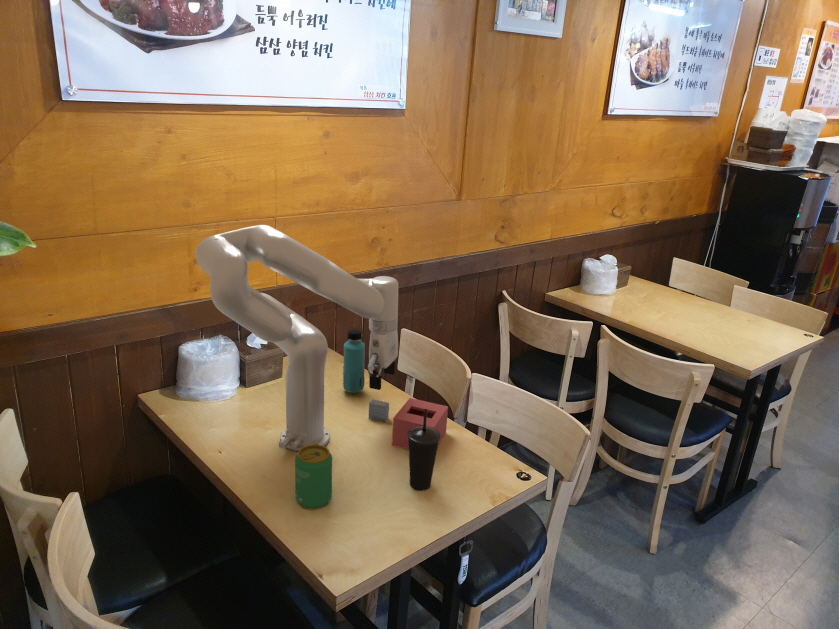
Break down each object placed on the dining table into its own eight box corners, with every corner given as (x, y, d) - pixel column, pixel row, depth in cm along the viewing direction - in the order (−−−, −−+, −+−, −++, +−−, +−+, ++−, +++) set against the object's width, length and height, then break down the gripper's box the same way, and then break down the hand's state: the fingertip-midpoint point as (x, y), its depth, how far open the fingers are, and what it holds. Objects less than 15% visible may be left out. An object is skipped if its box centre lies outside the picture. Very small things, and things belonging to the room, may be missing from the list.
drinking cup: (413, 497, 142) (418, 421, 135) (398, 479, 148) (403, 404, 141) (442, 489, 145) (449, 414, 138) (426, 472, 151) (432, 399, 144)
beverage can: (337, 503, 138) (338, 457, 134) (304, 515, 134) (303, 467, 130) (322, 484, 144) (322, 439, 140) (289, 494, 140) (289, 448, 136)
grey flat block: (385, 422, 172) (385, 406, 171) (368, 418, 174) (369, 402, 172) (388, 418, 174) (389, 402, 173) (372, 414, 176) (372, 399, 174)
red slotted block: (431, 455, 158) (433, 427, 156) (391, 444, 162) (393, 417, 159) (445, 432, 169) (448, 406, 166) (408, 423, 172) (409, 397, 170)
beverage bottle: (360, 398, 184) (362, 336, 177) (339, 395, 185) (340, 333, 178) (366, 389, 190) (369, 328, 183) (346, 386, 191) (347, 325, 184)
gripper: (383, 337, 155) (382, 397, 162) (408, 314, 171) (406, 370, 177) (356, 332, 158) (356, 392, 164) (382, 310, 173) (382, 365, 179)
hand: (382, 380), depth 170 cm, fingers open, 9 cm apart
